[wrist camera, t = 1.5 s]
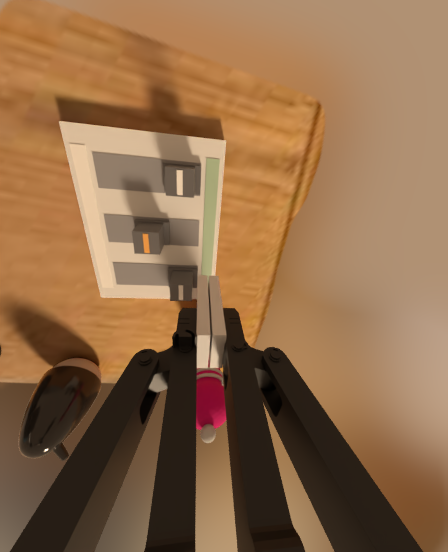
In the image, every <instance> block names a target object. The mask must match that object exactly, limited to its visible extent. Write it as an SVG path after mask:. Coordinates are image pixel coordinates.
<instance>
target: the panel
mask: <svg viewBox="0 0 448 552" xmlns="http://www.w3.org/2000/svg"><path fill="white" fill-rule="evenodd" d="M59 124H60V128H61V132H62V137H63V141H64V145H65V149H66V153H67V157H68V162H69V166H70V170H71V174H72V178H73V182H74V187H75V191H76V195H77V199H78V203H79V207H80V212H81V216H82V220H83V224H84V228H85V232H86V237H87V241H88V245H89V249H90V253H91V257H92V262H93V266H94V270H95V274H96V278H97V282H98V287H99V291H100V295H101V297H103V298H157V299H170V287H169V284H168V267H186V268H198V275H207V277H208V282H209V276H215V271H216V258H217V246H218V234H219V222H220V210H221V198H222V185H223V173H224V161H225V149H226V140H217V139H208V138H200V137H191V136H183V135H174V134H166V133H157V132H149V131H140V130H132V129H123V128H115V127H106V126H98V125H89V124H81V123H72V122H64V121H59ZM163 162H166V163H176V164H186V165H196V166H201V189H200V195H196V194H194V198H189V197H177V196H166V192H164V172H163ZM135 219H145V220H160V221H170V245H164V246H163V249H162V251H161V253H160V255H155V254H135V253H134V245H133V237H132V230H133V229H134V228H135V224H134V220H135ZM198 275H197V288H193V289H192V299H197V291H198Z"/></svg>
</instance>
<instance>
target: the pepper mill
mask: <svg viewBox="0 0 448 552" xmlns="http://www.w3.org/2000/svg"><path fill="white" fill-rule="evenodd" d="M222 377H223V373H222V372H221V371H220V368H210V360H208V368H197V396H196V429H199V430H201V434H200V435H201V439H202V440H203V441H204V442H205V443H210V442H212V441H213V440H214V438H215V436H216V430H215V428H218V427H219V426H221V425H222V424H223V423H224V422H225V421H226V409H225V397H224V386H223V384H222Z"/></svg>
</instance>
